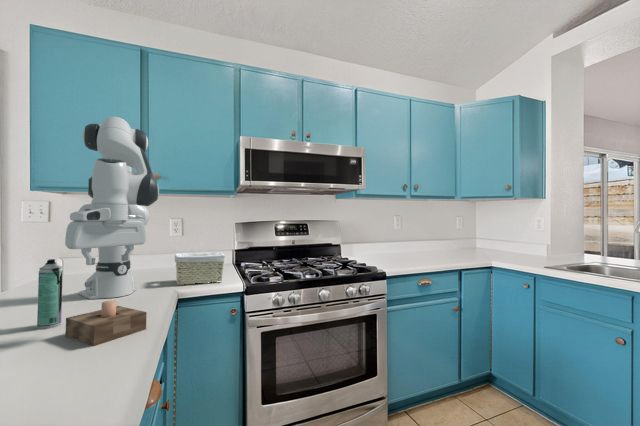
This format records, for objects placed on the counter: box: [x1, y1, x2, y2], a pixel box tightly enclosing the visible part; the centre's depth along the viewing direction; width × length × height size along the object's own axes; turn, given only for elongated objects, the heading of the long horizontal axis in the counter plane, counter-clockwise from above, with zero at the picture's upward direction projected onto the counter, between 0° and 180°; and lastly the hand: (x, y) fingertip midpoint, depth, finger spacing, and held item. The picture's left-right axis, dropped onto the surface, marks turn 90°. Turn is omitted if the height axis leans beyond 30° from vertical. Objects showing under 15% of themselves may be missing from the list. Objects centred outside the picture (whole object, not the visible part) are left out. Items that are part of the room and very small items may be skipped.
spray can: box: [36, 258, 64, 330], centre depth 95 cm, size 6×6×20 cm
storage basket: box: [174, 251, 226, 286], centre depth 163 cm, size 24×16×15 cm
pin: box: [100, 300, 118, 318], centre depth 89 cm, size 4×4×7 cm
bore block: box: [65, 305, 147, 347], centre depth 89 cm, size 14×14×5 cm
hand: (108, 262), depth 90 cm, fingers open, 8 cm apart
